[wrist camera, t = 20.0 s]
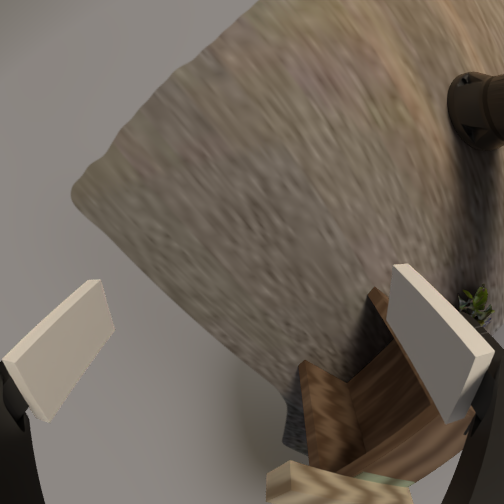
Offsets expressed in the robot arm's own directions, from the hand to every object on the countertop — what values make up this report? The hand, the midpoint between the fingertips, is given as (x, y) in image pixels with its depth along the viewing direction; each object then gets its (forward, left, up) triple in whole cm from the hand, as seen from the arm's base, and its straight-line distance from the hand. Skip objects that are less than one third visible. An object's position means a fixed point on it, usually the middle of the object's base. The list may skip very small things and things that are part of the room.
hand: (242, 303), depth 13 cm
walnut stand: (-18, +31, -37) cm, 51 cm away
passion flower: (-42, +25, -37) cm, 61 cm away
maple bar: (-10, +32, -7) cm, 35 cm away
